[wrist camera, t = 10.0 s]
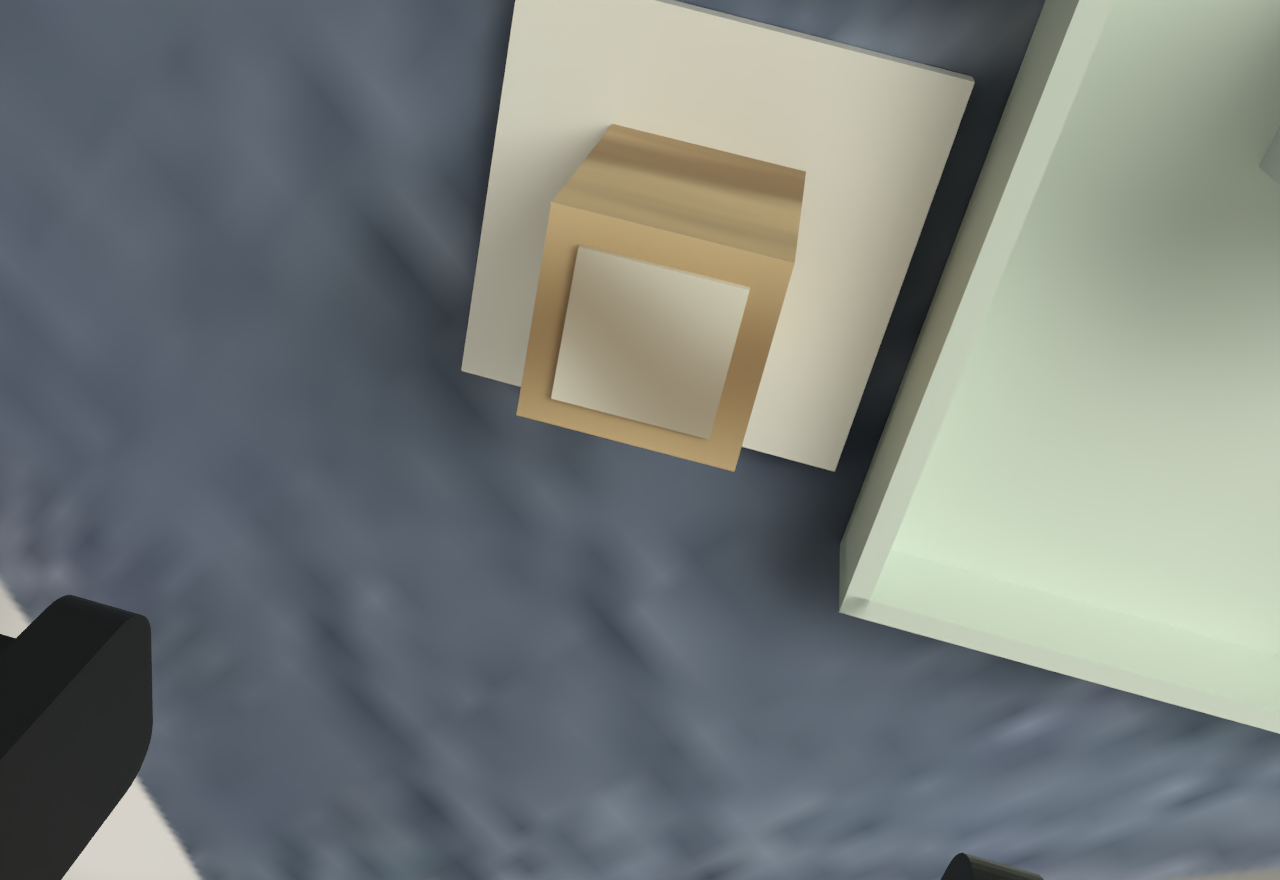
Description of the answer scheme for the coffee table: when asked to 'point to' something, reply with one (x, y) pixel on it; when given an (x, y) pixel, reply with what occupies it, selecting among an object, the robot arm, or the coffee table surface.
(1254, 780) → the coffee table surface
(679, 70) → the ceramic tile
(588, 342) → the oak box
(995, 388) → the parts tray
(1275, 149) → the grey box
